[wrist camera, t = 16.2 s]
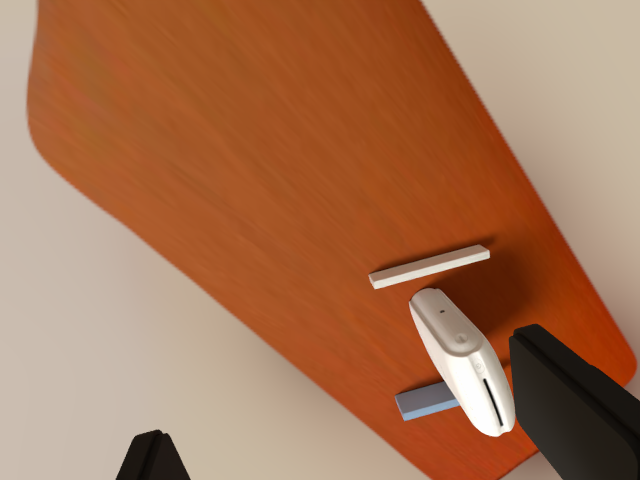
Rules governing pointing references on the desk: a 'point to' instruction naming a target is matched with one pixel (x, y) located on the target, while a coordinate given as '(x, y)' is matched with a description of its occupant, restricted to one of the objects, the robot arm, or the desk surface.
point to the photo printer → (464, 361)
